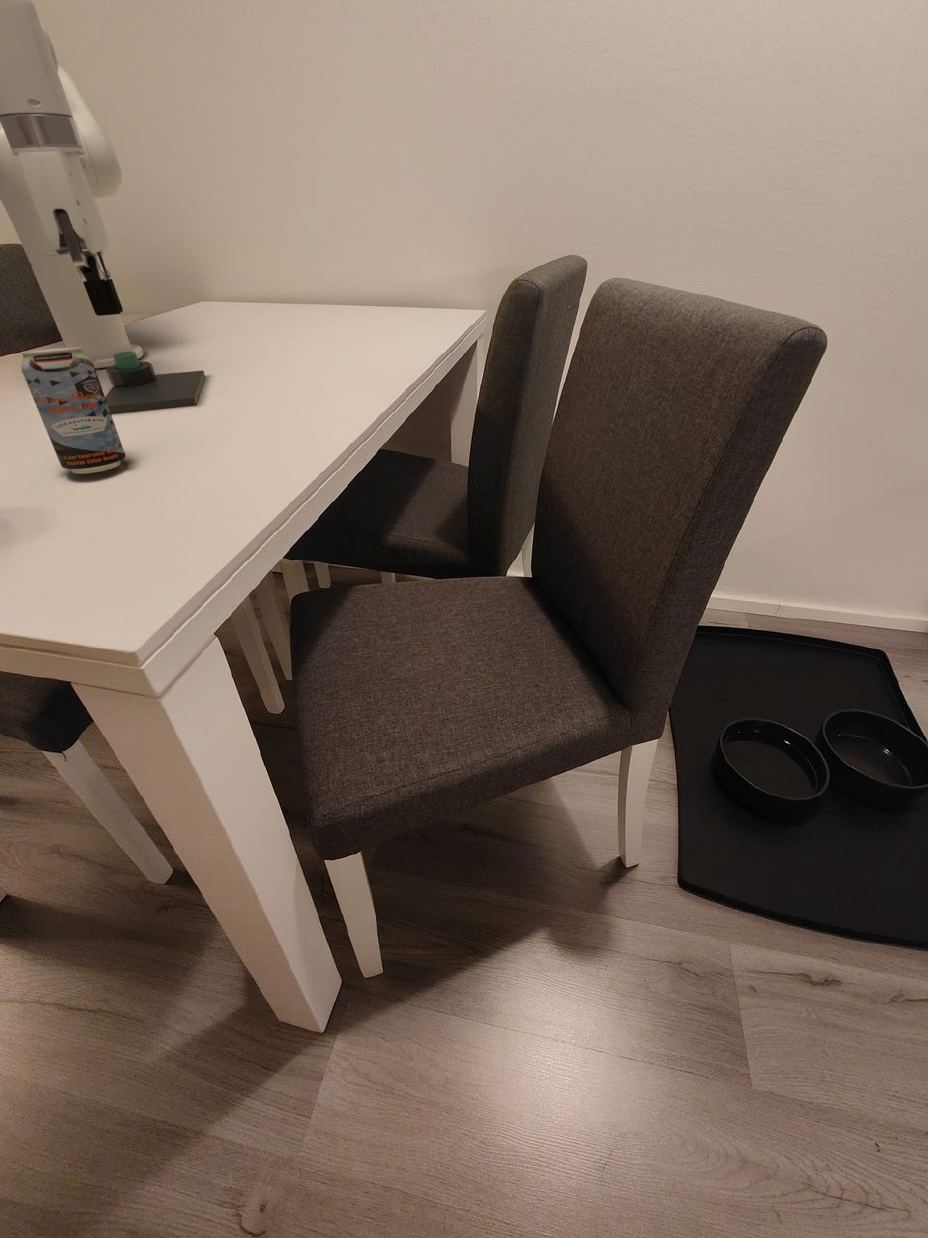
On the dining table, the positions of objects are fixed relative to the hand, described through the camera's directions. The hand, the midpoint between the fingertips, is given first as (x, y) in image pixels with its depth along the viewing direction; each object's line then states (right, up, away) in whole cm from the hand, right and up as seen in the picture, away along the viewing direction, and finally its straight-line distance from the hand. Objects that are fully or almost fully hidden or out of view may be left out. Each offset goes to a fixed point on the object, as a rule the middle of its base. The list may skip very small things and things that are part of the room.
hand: (110, 313), depth 77 cm
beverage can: (+9, -26, -16) cm, 32 cm away
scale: (+4, -10, +4) cm, 11 cm away
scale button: (0, -5, +5) cm, 7 cm away
